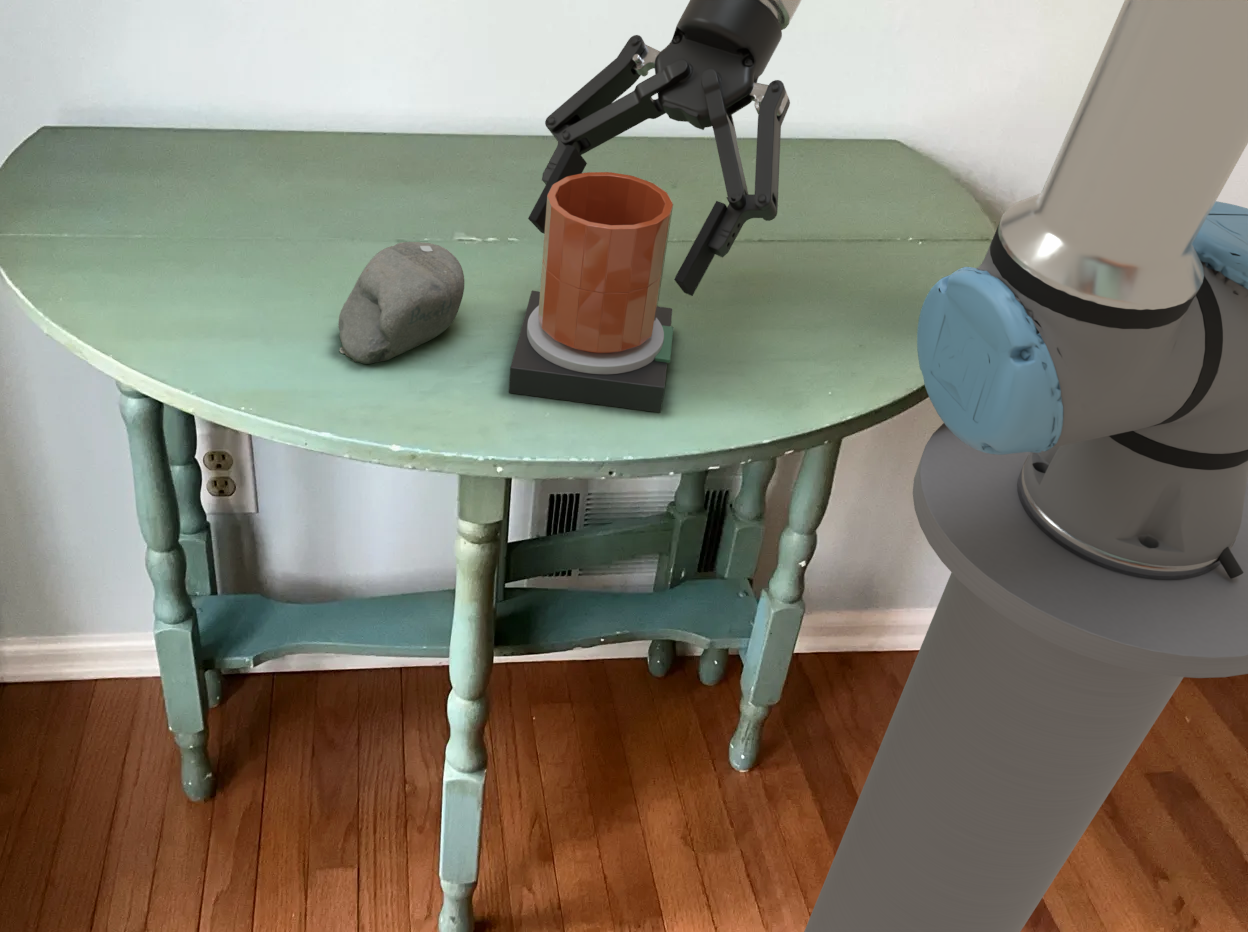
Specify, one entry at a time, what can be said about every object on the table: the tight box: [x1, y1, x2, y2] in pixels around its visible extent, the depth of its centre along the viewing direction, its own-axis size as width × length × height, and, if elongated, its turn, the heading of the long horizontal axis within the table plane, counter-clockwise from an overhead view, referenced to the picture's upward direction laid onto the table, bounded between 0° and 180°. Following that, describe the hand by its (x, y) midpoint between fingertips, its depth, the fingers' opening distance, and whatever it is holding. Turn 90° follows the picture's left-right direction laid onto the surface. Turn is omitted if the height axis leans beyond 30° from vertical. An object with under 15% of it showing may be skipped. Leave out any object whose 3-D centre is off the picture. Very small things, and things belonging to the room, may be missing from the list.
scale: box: [508, 290, 674, 413], centre depth 96 cm, size 12×12×3 cm
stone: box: [337, 241, 465, 365], centre depth 98 cm, size 9×9×10 cm
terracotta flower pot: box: [538, 171, 674, 353], centre depth 92 cm, size 9×9×11 cm
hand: (608, 257), depth 91 cm, fingers open, 13 cm apart
